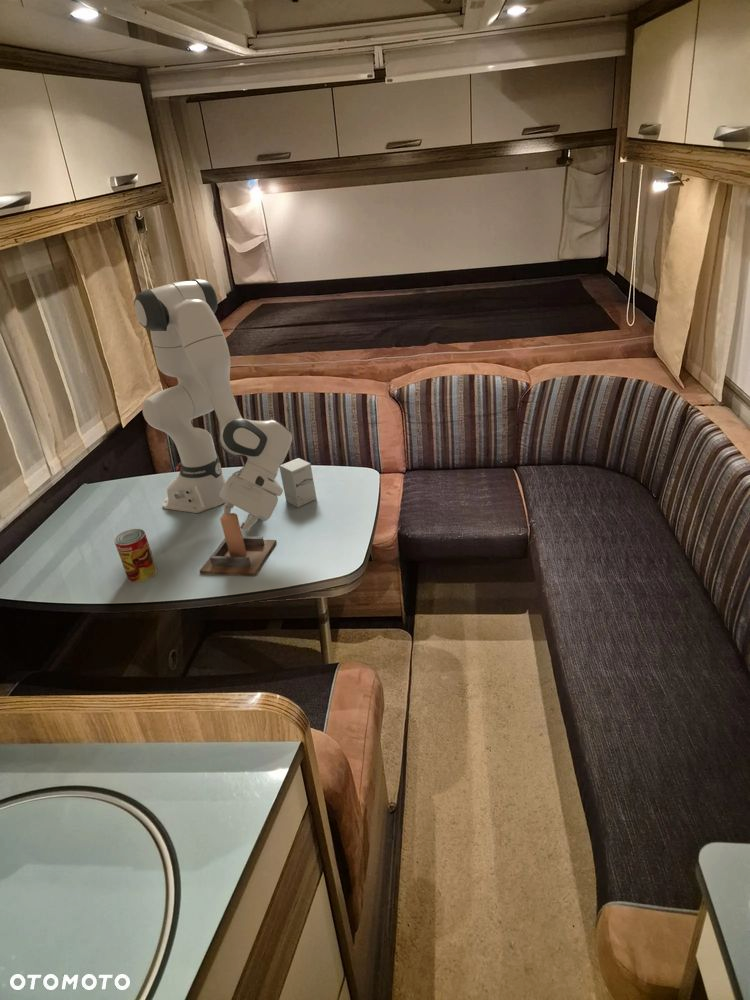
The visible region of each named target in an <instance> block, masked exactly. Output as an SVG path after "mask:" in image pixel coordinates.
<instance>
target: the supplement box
mask: <svg viewBox="0 0 750 1000" xmlns="http://www.w3.org/2000/svg"><path fill="white" fill-rule="evenodd" d="M278 469H279V473H280V477H281V482H282V489H283V492H284V496H285V501H286V502H287V503H289V504H291V505H293V506H294V507H296V508H300V507H302V506H304V505H305V504H308V503H310V502H313V501H315V500H316V499H317V494H316V488H315V487H316V486H315V481H314V477H313V469H312V464H311V462H308V461H306V460H304V459H302V458H300V457H298V458H295V459H292V460H290V461H288V462H285V463H282V464H281V465H280V466H279V468H278Z"/></svg>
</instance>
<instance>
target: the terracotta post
mask: <svg viewBox="0 0 750 1000" xmlns="http://www.w3.org/2000/svg"><path fill="white" fill-rule="evenodd" d="M222 515H223V514H222ZM222 515H221V517H220V523H221V526H222V531H223V535H224V539H226V543H227V546H228V550H229V554H230V557H245V556H246V554H247V553H246V549H245V545H244V541H243V537H242V536H243V534H242V533H243V532H242V529H241V525H240V522H239V517H238V514H237V513H235V512H234V513H233V512H230V513H228V514H225V515H223V516H222Z"/></svg>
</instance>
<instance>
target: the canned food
mask: <svg viewBox="0 0 750 1000" xmlns="http://www.w3.org/2000/svg"><path fill="white" fill-rule="evenodd" d="M114 544H115V547H116V550H117V552H118V555H119V558H120V560H121V563H122V566H123V568H124V569H123V570H124V572H125V575H126V577H127V580H128V581H130V582H131V583H140V582H141V583H142V582H144V581H147V580H149V579H151V578H153V577H154V576H155V575H156V574H157V571H158V567H157V563H156V561H155V558H154V555H153V553H152V550H151V547H150V543H149V540H148V537H147V534H146V531H145V530H144V529H141V528H133V529H132V528H131V529H128V530H125V531H123V532H120V533H119V534H118V535H116V537H115V538H114Z"/></svg>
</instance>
